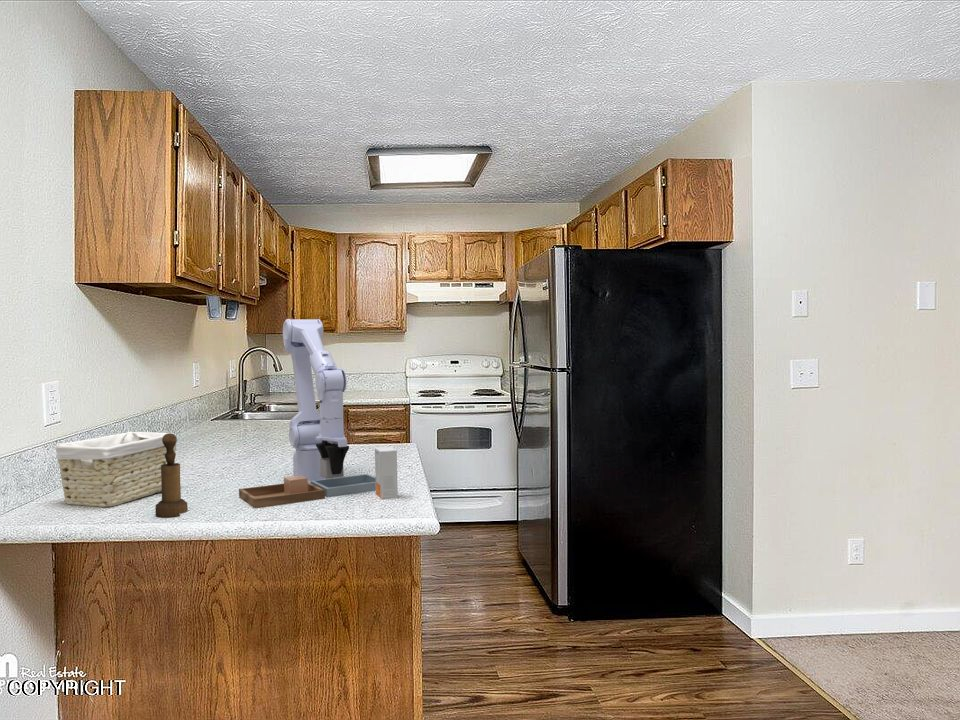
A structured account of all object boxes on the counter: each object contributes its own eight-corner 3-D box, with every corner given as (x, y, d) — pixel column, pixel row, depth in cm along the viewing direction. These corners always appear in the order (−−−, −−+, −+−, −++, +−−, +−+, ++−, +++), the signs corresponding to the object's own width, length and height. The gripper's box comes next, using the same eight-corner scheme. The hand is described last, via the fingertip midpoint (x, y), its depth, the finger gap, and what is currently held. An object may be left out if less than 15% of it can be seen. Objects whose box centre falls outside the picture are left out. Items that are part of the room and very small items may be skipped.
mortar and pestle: (192, 510, 165) (189, 431, 165) (181, 517, 159) (179, 435, 158) (162, 510, 165) (160, 432, 164) (150, 518, 158) (148, 436, 158)
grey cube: (320, 476, 181) (319, 458, 181) (336, 474, 184) (336, 456, 184) (326, 478, 178) (326, 461, 178) (343, 476, 180) (343, 459, 180)
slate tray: (310, 490, 184) (310, 480, 184) (367, 483, 192) (367, 473, 192) (327, 499, 174) (326, 488, 174) (386, 490, 183) (386, 481, 183)
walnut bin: (239, 499, 175) (238, 489, 175) (305, 490, 184) (305, 480, 184) (254, 510, 164) (254, 499, 164) (325, 500, 173) (324, 490, 173)
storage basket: (107, 510, 167) (105, 446, 166) (53, 505, 172) (51, 443, 171) (181, 488, 189) (179, 432, 189) (132, 485, 195) (130, 430, 194)
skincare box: (375, 496, 177) (374, 447, 176) (392, 494, 178) (391, 446, 178) (380, 501, 171) (379, 451, 171) (398, 499, 173) (397, 449, 172)
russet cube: (284, 495, 177) (283, 477, 177) (301, 493, 179) (301, 475, 179) (290, 498, 173) (289, 480, 173) (307, 496, 175) (307, 478, 175)
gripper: (306, 416, 184) (307, 469, 185) (326, 422, 172) (328, 478, 173) (332, 414, 188) (333, 466, 189) (354, 419, 176) (355, 475, 176)
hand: (332, 472), depth 181 cm, fingers closed on grey cube, 4 cm apart
